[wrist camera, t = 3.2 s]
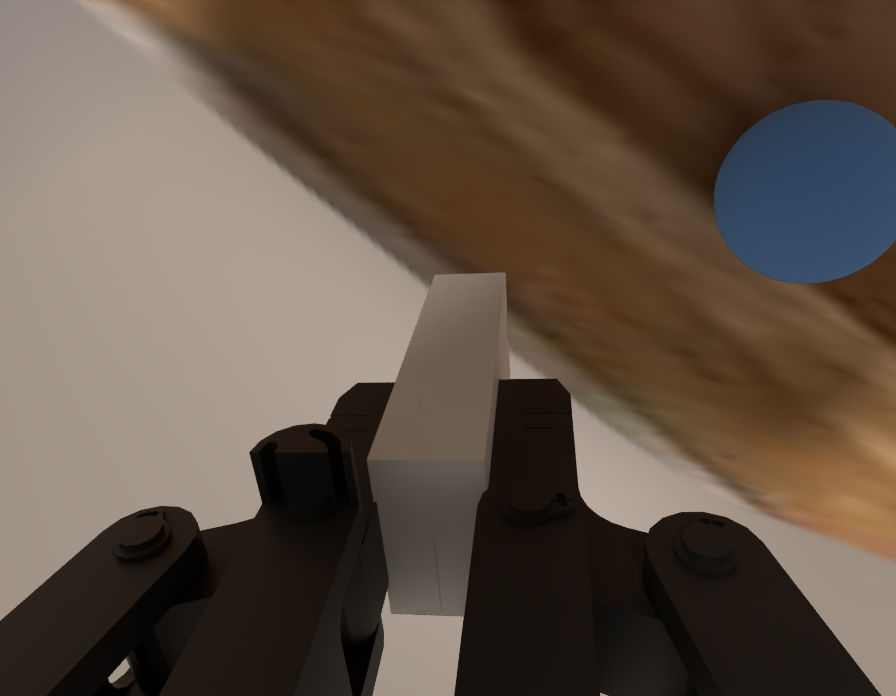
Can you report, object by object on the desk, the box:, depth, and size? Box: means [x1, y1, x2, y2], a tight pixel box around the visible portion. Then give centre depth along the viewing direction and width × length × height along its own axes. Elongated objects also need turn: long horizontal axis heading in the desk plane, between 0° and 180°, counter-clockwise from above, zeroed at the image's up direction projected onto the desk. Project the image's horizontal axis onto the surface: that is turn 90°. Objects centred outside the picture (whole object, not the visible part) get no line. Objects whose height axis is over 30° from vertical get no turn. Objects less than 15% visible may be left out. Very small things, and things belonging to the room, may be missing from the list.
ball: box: [714, 100, 896, 284], centre depth 21 cm, size 6×6×6 cm
